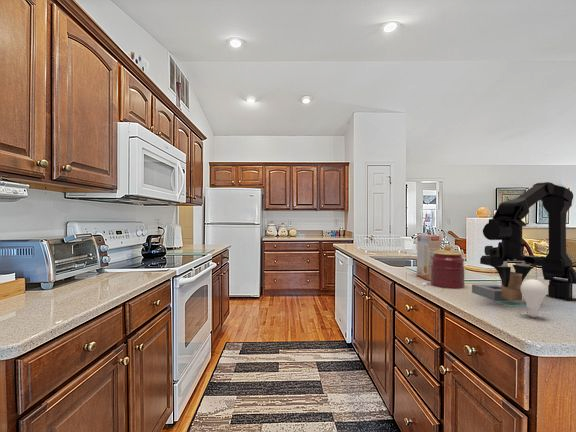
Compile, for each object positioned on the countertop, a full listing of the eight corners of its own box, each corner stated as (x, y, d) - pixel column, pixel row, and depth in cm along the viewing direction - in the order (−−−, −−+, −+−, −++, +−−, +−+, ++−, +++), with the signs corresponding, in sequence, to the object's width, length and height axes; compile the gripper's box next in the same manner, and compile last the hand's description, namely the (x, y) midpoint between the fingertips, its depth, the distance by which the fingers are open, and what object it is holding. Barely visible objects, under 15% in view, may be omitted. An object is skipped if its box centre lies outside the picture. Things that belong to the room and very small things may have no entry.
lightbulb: (547, 321, 92) (548, 282, 92) (520, 318, 95) (521, 279, 95) (544, 316, 97) (545, 279, 97) (519, 313, 100) (519, 276, 100)
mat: (512, 302, 113) (512, 300, 113) (529, 308, 106) (529, 306, 106) (493, 302, 112) (493, 300, 112) (509, 308, 105) (509, 306, 105)
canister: (436, 289, 133) (436, 245, 133) (426, 283, 146) (426, 243, 146) (470, 290, 131) (470, 246, 131) (457, 284, 144) (457, 243, 144)
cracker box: (441, 281, 151) (441, 235, 151) (427, 281, 151) (428, 235, 151) (428, 275, 165) (428, 234, 165) (416, 275, 165) (416, 233, 165)
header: (496, 293, 127) (496, 284, 127) (521, 301, 115) (521, 291, 115) (471, 293, 126) (472, 284, 126) (494, 301, 114) (494, 291, 114)
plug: (512, 297, 111) (512, 271, 112) (522, 300, 107) (522, 274, 107) (500, 297, 111) (500, 272, 111) (510, 300, 107) (510, 274, 107)
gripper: (518, 238, 118) (518, 281, 118) (469, 238, 116) (469, 282, 116) (545, 240, 107) (545, 288, 107) (492, 240, 105) (491, 289, 105)
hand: (511, 286), depth 109 cm, fingers closed on plug, 4 cm apart
